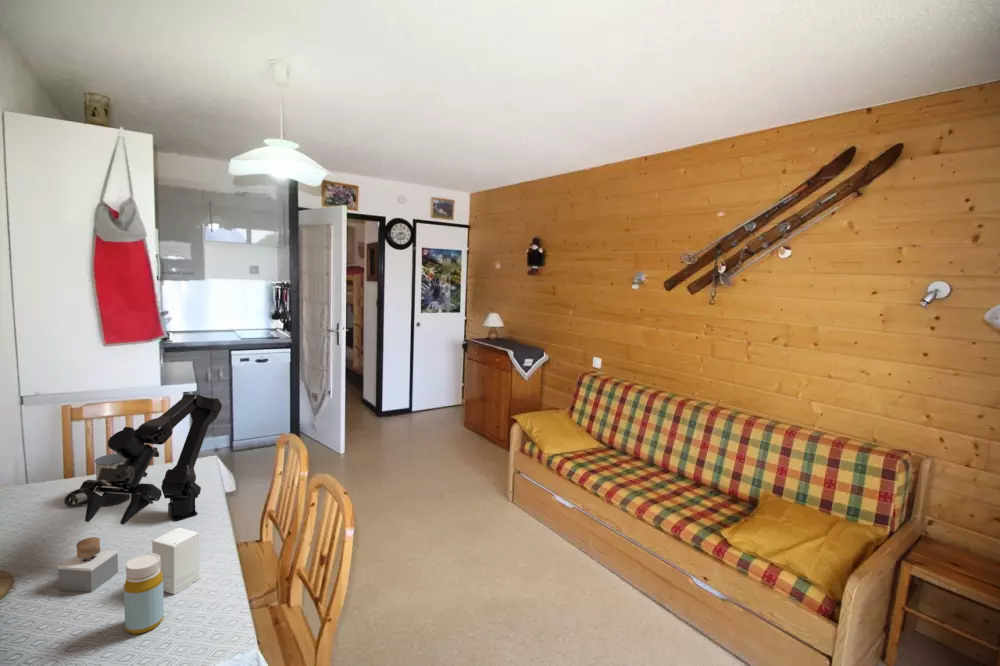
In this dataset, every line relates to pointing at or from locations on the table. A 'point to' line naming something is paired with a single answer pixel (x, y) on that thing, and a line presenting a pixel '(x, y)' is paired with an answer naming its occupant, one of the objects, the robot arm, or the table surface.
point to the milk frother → (111, 498)
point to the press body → (88, 571)
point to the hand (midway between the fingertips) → (104, 522)
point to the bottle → (143, 594)
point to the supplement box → (178, 558)
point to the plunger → (88, 548)
